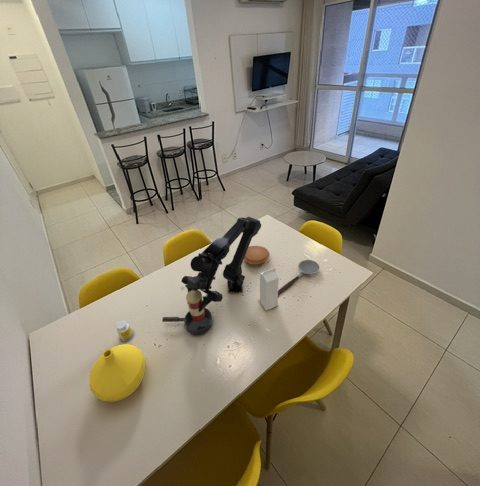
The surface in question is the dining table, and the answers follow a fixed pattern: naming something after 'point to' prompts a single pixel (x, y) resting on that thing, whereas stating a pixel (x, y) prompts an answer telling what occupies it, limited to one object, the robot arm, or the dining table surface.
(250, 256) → the pie
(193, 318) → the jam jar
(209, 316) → the pan
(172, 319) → the pan handle
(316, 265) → the spoon
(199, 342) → the dining table surface
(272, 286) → the milk
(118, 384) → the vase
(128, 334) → the supplement bottle
